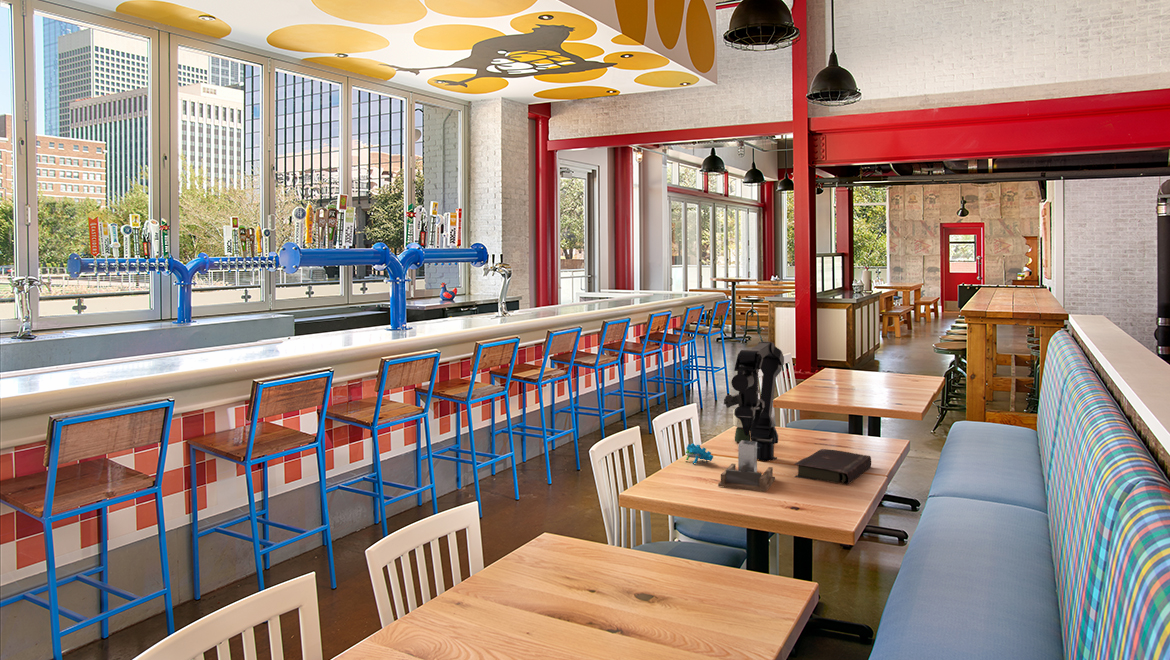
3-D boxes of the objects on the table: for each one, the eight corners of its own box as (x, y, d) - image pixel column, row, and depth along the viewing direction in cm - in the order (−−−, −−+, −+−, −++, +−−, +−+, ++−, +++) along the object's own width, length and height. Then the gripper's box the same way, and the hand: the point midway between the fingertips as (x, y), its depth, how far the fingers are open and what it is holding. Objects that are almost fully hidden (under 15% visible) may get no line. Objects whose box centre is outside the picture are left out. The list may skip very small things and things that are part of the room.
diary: (871, 469, 260) (872, 455, 260) (848, 488, 240) (849, 472, 239) (818, 461, 271) (818, 447, 270) (791, 478, 251) (792, 463, 250)
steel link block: (741, 476, 249) (741, 440, 248) (757, 477, 247) (757, 441, 246) (738, 480, 244) (738, 443, 243) (754, 482, 242) (754, 444, 241)
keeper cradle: (729, 475, 254) (729, 454, 253) (775, 479, 248) (775, 458, 247) (718, 486, 241) (718, 464, 241) (765, 491, 235) (765, 469, 234)
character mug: (746, 446, 292) (746, 413, 291) (728, 444, 296) (728, 411, 295) (756, 440, 301) (756, 408, 300) (739, 439, 305) (739, 406, 304)
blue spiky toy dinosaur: (719, 459, 268) (703, 442, 264) (712, 473, 266) (695, 456, 262) (697, 457, 277) (680, 441, 273) (690, 471, 275) (673, 454, 271)
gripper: (733, 381, 269) (733, 425, 270) (718, 390, 252) (719, 436, 253) (764, 383, 264) (764, 427, 266) (752, 391, 247) (752, 439, 249)
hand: (749, 432), depth 258 cm, fingers open, 9 cm apart
